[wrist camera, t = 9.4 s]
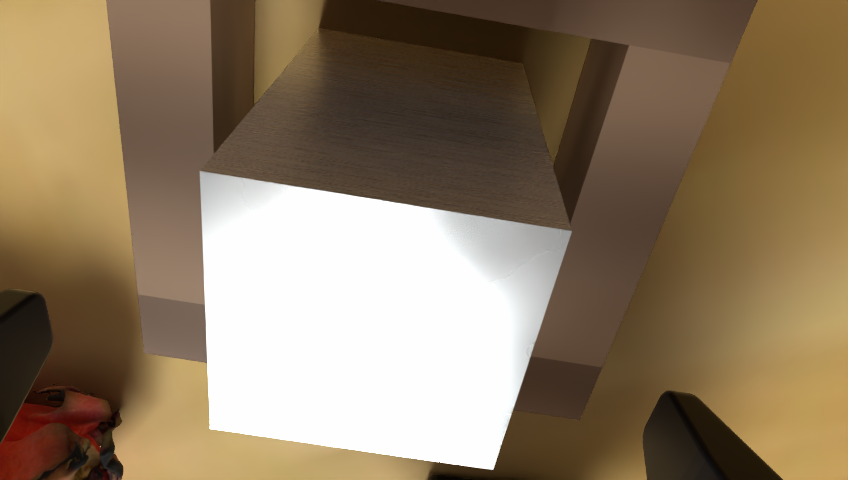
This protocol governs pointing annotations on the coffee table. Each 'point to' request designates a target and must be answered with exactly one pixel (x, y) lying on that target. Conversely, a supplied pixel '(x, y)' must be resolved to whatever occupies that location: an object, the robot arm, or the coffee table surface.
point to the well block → (574, 167)
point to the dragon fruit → (62, 440)
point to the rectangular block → (380, 251)
